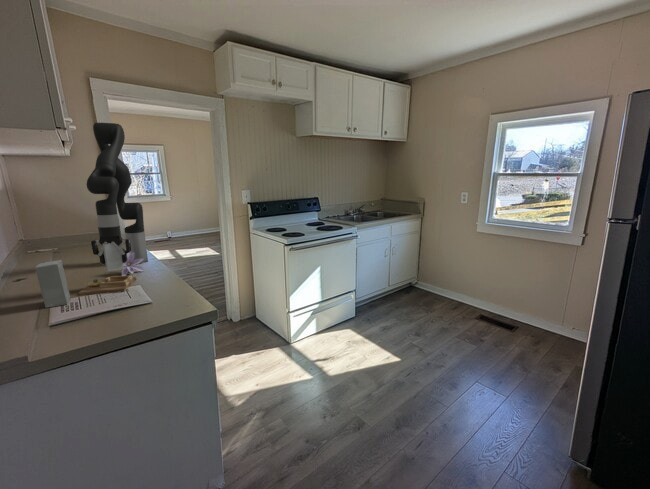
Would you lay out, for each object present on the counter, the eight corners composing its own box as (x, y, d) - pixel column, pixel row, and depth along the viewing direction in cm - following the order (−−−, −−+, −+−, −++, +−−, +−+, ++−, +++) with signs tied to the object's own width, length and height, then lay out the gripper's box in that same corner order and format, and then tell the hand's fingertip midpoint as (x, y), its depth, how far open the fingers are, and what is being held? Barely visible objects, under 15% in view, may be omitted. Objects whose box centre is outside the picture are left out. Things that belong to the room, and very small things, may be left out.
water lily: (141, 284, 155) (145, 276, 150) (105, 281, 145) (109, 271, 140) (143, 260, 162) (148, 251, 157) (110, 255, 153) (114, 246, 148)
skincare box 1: (67, 304, 113) (60, 264, 109) (42, 309, 109) (33, 266, 106) (71, 297, 120) (64, 258, 116) (47, 301, 116) (39, 261, 113)
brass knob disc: (91, 283, 132) (90, 278, 131) (105, 282, 133) (104, 277, 133) (86, 287, 127) (85, 281, 127) (100, 286, 128) (99, 281, 128)
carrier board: (96, 282, 137) (95, 275, 136) (136, 279, 141) (135, 273, 141) (79, 295, 122) (77, 287, 121) (124, 291, 126) (123, 284, 126)
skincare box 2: (122, 267, 134) (118, 240, 132) (124, 269, 131) (120, 242, 129) (105, 269, 130) (101, 242, 128) (107, 272, 127) (103, 244, 125)
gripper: (131, 223, 132) (135, 260, 136) (92, 224, 129) (98, 262, 132) (125, 226, 125) (130, 264, 129) (84, 227, 121) (90, 266, 125)
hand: (114, 263), depth 130 cm, fingers closed on skincare box 2, 7 cm apart
